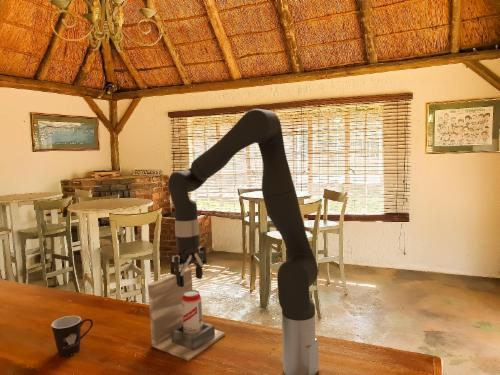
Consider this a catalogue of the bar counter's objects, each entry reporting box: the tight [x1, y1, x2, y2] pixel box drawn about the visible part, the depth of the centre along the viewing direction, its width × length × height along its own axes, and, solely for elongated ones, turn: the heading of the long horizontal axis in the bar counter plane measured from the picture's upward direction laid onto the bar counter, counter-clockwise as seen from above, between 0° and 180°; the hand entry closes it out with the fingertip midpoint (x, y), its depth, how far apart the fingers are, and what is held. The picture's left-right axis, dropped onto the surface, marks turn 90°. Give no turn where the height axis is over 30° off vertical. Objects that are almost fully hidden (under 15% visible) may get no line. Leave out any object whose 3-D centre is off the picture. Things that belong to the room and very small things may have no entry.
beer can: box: [182, 289, 203, 336], centre depth 128 cm, size 6×6×16 cm
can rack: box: [147, 267, 226, 362], centre depth 129 cm, size 16×18×21 cm
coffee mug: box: [50, 315, 94, 357], centre depth 126 cm, size 12×9×10 cm
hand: (190, 282), depth 127 cm, fingers open, 8 cm apart
